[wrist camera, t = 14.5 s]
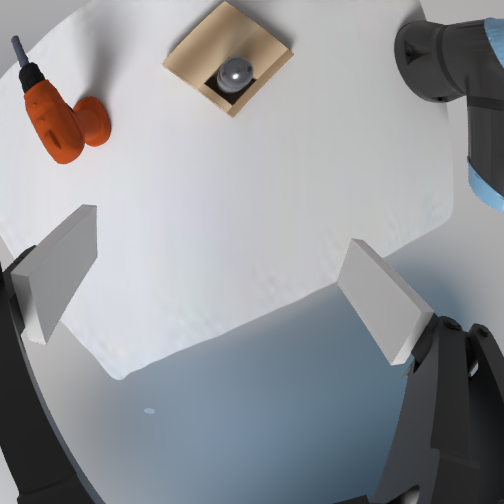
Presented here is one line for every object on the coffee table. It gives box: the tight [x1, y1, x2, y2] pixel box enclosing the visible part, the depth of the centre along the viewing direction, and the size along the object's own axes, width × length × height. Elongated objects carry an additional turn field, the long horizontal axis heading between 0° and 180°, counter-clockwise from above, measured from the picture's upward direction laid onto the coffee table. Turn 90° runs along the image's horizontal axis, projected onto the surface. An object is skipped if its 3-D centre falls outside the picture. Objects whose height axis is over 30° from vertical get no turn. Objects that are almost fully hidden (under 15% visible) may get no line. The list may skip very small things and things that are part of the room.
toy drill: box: [11, 36, 111, 164], centre depth 25 cm, size 5×19×15 cm, turn 23°
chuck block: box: [162, 1, 294, 118], centre depth 32 cm, size 12×12×3 cm
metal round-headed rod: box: [216, 56, 254, 95], centre depth 29 cm, size 3×3×14 cm
